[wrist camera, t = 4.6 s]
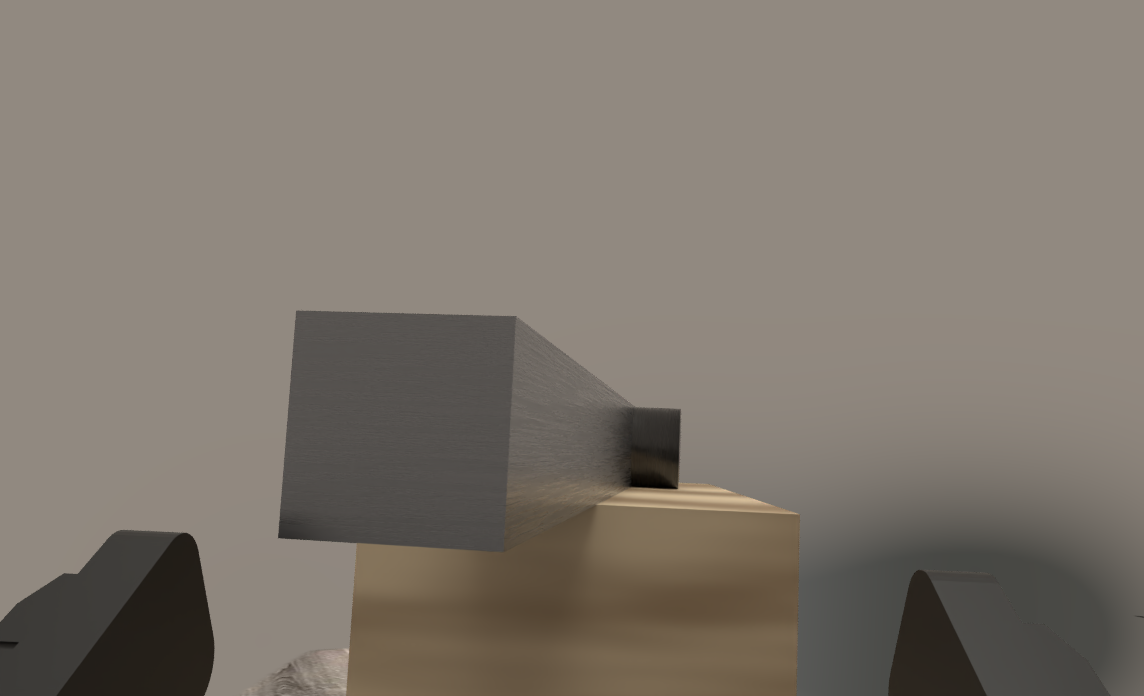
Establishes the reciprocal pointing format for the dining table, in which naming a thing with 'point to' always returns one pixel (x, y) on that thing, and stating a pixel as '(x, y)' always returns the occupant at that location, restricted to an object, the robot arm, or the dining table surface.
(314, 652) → the dining table surface
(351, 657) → the oak stand
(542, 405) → the grey long bar
